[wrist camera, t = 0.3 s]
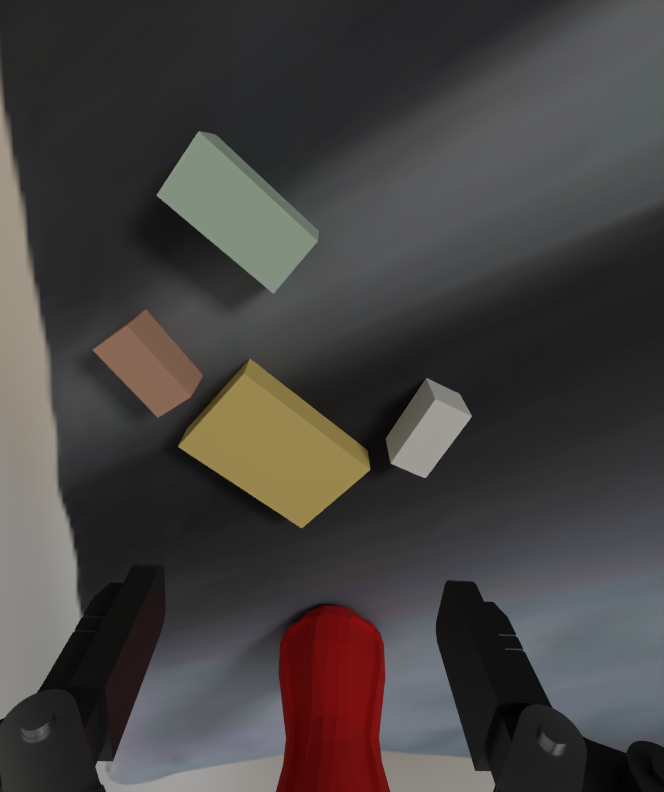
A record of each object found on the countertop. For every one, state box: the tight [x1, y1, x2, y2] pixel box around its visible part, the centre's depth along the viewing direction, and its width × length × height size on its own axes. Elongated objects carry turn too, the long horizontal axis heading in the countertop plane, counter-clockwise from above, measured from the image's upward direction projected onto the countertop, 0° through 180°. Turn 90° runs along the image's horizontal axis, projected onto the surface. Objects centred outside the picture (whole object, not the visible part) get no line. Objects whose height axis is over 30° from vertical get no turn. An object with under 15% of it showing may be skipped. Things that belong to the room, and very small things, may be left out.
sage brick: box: [157, 131, 319, 294], centre depth 27 cm, size 4×8×4 cm, turn 48°
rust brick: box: [93, 310, 203, 417], centre depth 31 cm, size 6×3×4 cm, turn 33°
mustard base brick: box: [178, 359, 370, 528], centre depth 35 cm, size 8×12×3 cm, turn 48°
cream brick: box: [386, 378, 472, 478], centre depth 34 cm, size 6×3×4 cm, turn 153°
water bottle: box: [276, 605, 390, 792], centre depth 37 cm, size 9×11×25 cm
